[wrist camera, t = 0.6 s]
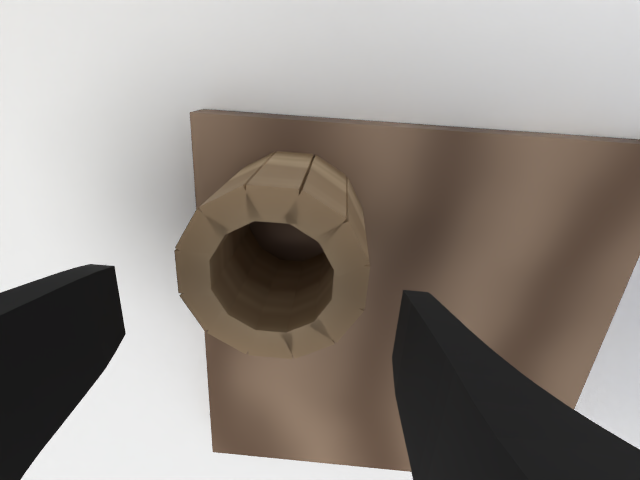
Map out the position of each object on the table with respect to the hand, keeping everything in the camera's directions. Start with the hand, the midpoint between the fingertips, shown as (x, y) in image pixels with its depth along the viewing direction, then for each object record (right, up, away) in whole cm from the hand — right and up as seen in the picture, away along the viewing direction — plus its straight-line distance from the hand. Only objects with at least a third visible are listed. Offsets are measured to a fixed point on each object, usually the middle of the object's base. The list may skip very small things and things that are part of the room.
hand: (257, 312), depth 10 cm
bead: (+1, +3, +6) cm, 7 cm away
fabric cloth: (+5, -2, +9) cm, 11 cm away
